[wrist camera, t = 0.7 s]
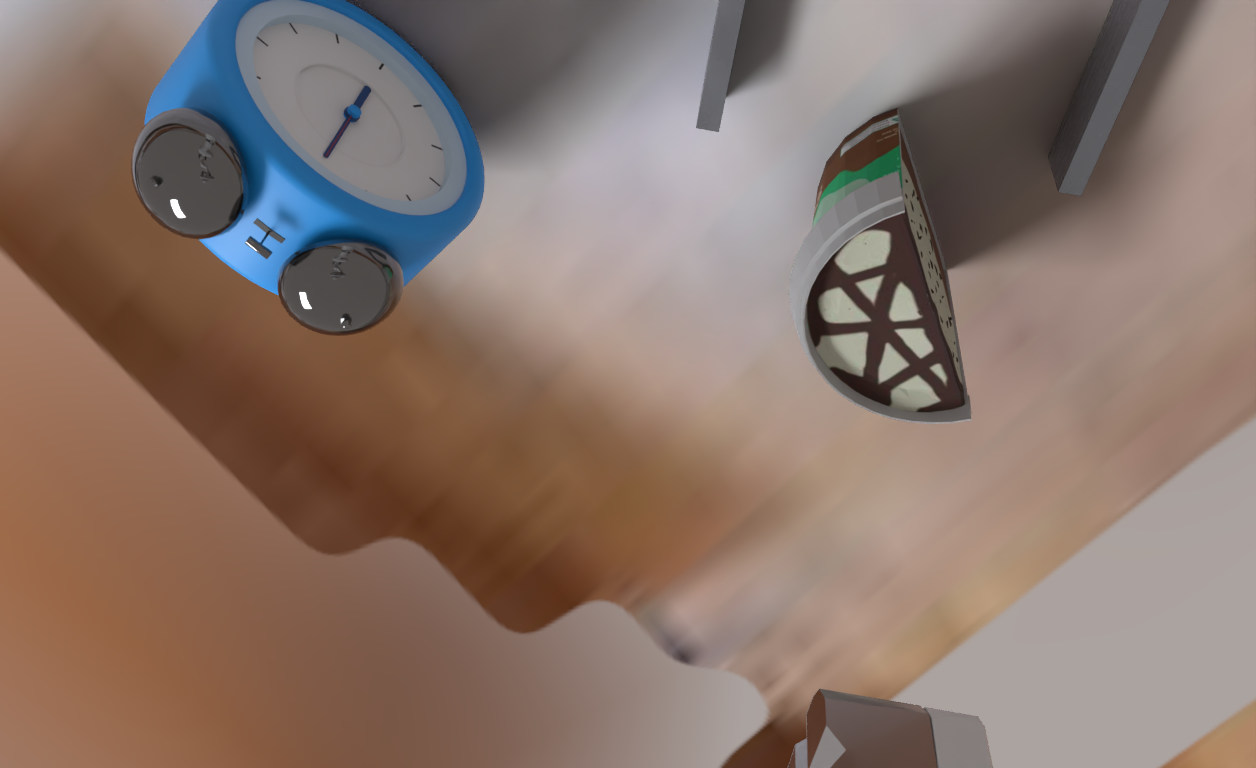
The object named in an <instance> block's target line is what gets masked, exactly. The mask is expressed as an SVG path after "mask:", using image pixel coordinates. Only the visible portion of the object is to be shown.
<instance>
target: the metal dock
mask: <svg viewBox="0 0 1256 768" xmlns="http://www.w3.org/2000/svg"><path fill="white" fill-rule="evenodd" d="M1169 1H1170V0H1114V2H1113V4H1112V7H1111V9H1110V12H1109V14H1108V16H1107V19H1106V21H1105V23H1104V26H1103V28H1102V30H1101V33H1100V35H1099V38H1098V40H1097V42H1096V45H1095V47H1094V49H1093V52H1092V54H1091V57H1090V59H1089V61H1088V64H1087V66H1086V68H1085V71H1084V73H1083V76H1082V78H1081V80H1080V83H1079V85H1078V87H1077V90H1076V92H1075V95H1074V97H1073V99H1072V102H1071V104H1070V106H1069V109H1068V111H1067V114H1066V116H1065V118H1064V121H1063V123H1062V125H1061V128H1060V130H1059V133H1058V135H1057V137H1056V140H1055V142H1054V144H1053V147H1052V149H1051V152H1050V154H1049V156H1048V159H1049V162H1050V165H1051V169H1052V172H1053V176H1054V179H1055V182H1056V186H1057V189H1058V192H1061V193H1067V194H1072V195H1078V196H1081V195H1082V193H1083V191H1084V188H1085V186H1086V184H1087V182H1088V180H1089V177H1090V175H1091V173H1092V171H1093V169H1094V166H1095V164H1096V162H1097V160H1098V158H1099V155H1100V153H1101V151H1102V149H1103V147H1104V144H1105V142H1106V140H1107V138H1108V136H1109V133H1110V131H1111V129H1112V127H1113V125H1114V122H1115V120H1116V118H1117V116H1118V114H1119V111H1120V109H1121V107H1122V105H1123V103H1124V100H1125V98H1126V96H1127V94H1128V92H1129V89H1130V87H1131V85H1132V83H1133V81H1134V78H1135V76H1136V74H1137V72H1138V70H1139V67H1140V65H1141V63H1142V61H1143V59H1144V56H1145V54H1146V52H1147V50H1148V48H1149V45H1150V43H1151V41H1152V39H1153V37H1154V34H1155V32H1156V30H1157V28H1158V26H1159V23H1160V21H1161V19H1162V17H1163V15H1164V12H1165V10H1166V8H1167V6H1168V4H1169ZM744 4H745V0H719V4H718V9H717V15H716V20H715V25H714V31H713V36H712V41H711V47H710V52H709V57H708V63H707V68H706V74H705V79H704V84H703V90H702V95H701V101H700V107H699V113H698V120H697V126H696V128H699V129H705V130H710V131H716V132H719V128H720V123H721V118H722V113H723V108H724V103H725V98H726V93H727V88H728V84H729V79H730V74H731V69H732V64H733V59H734V54H735V49H736V44H737V39H738V34H739V29H740V24H741V19H742V14H743V9H744Z"/></svg>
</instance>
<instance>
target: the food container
mask: <svg viewBox="0 0 1256 768" xmlns="http://www.w3.org/2000/svg"><path fill="white" fill-rule="evenodd" d="M789 300H790V309H791V314H792V317H793V320H794V324H795V327H796V330H797V333H798V336H799V339H800V342H801V345H802V347H803V349H804V351H805V353H806V355H807V357H808V359H809V360H810V362H811V363H812V365H813V366H814V367H815V368H816V370H817V371H818V372H819V374H820V375H821V376H822V377H823V378H824V380H825V381H826V382H827V383H828V384H829V385H830V386H831V387H832V388H833V389H834V390H836V391H837V392H838V393H839V394H840V395H841V396H843V397H845V398H846V399H848V400H849V401H851V402H852V403H854V404H855V405H857V406H859V407H861V408H864V409H866V410H868V411H870V412H872V413H875V414H878V415H881V416H884V417H887V418H891V419H895V420H901V421H906V422H911V423H925V424H941V423H956V422H962V421H969V420H971V406H970V397H969V395H967V388H966V382H965V376H964V370H963V364H962V358H961V352H960V346H959V340H958V334H957V328H956V321H955V315H954V309H953V303H952V297H951V291H950V285H949V279H948V273H947V268H946V265H945V262H944V258H943V255H942V252H941V249H940V245H939V242H938V239H937V235H936V232H935V229H934V226H933V222H932V219H931V216H930V213H929V209H928V206H927V203H926V199H925V196H924V193H923V190H922V186H921V183H920V180H919V176H918V173H917V170H916V167H915V163H914V160H913V157H912V154H911V150H910V147H909V144H908V140H907V137H906V134H905V131H904V127H903V124H902V121H901V117H900V114H899V111H898V108H896V109H893V110H891V111H888V112H886V113H883V114H881V115H878V116H876V117H873V118H872V119H870V120H869V121H867V122H866V123H865V124H863V125H862V126H860V127H859V128H858V129H856V130H855V131H854V132H852V133H851V134H849V135H848V136H847V137H845V139H844V140H843V141H842V142H841V144H840V145H839V146H838V148H837V149H836V150H835V152H834V153H833V154H832V156H831V157H830V158H829V159H828V161H827V162H826V165H825V168H824V171H823V174H822V177H821V180H820V183H819V186H818V191H817V198H816V205H815V213H814V220H813V227H812V230H811V231H810V233H809V234H808V235H807V237H806V238H805V240H804V242H803V244H802V246H801V248H800V250H799V252H798V254H797V256H796V258H795V262H794V265H793V269H792V272H791V276H790V287H789Z"/></svg>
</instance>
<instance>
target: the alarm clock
mask: <svg viewBox="0 0 1256 768" xmlns="http://www.w3.org/2000/svg"><path fill="white" fill-rule="evenodd" d="M131 175H132V181H133V185H134V188H135V191H136V193H137V196H138V198H139V200H140V202H141V203H142V205H143V206H144V208H145V209H146V211H147V212H148V213H149V214H150V216H151V217H152V218H153V219H154V220H155V221H156V222H157V223H158V224H160V225H161V226H163V227H164V228H166V229H167V230H169V231H171V232H172V233H174V234H177V235H180V236H182V237H186V238H191V239H199V240H200V241H201V242H202V243H203V244H204V245H205V246H206V247H207V248H208V249H209V250H210V251H211V252H213V253H214V254H215V255H216V256H217V257H218V258H219V259H221V260H222V261H223V262H224V263H226V264H227V265H228V266H230V267H231V268H232V269H234V270H235V271H237V272H238V273H240V274H241V275H243V276H244V277H246V278H247V279H249V280H250V281H252V282H254V283H256V284H257V285H259V286H261V287H263V288H265V289H267V290H269V291H271V292H273V293H275V294H277V295H279V297H280V300H281V304H282V305H283V306H284V308H285V309H286V311H287V312H288V314H289V315H290V316H291V317H292V318H293V319H294V320H295V321H297V322H298V323H299V324H300V325H302V326H304V327H305V328H307V329H309V330H312V331H315V332H318V333H321V334H325V335H331V336H347V335H354V334H358V333H362V332H365V331H367V330H370V329H372V328H374V327H375V326H377V325H379V324H380V323H381V322H383V321H384V320H385V319H387V318H388V317H389V316H390V314H391V313H392V312H393V311H394V309H395V308H396V307H397V305H398V303H399V301H400V299H401V296H402V292H403V287H404V286H405V285H406V284H407V283H408V282H409V281H410V280H411V279H413V278H414V277H415V276H416V275H417V274H418V273H419V272H420V271H421V270H422V269H423V268H424V267H425V266H426V265H427V264H428V263H429V262H430V261H431V260H432V259H434V258H435V257H436V256H437V255H438V254H439V253H440V252H441V251H442V250H443V249H444V248H445V247H446V246H447V245H448V244H449V243H450V242H451V241H452V240H453V239H455V238H456V237H457V236H458V235H459V234H460V233H461V232H462V231H463V230H464V229H465V228H466V227H467V226H468V225H469V224H470V223H471V221H472V220H473V219H474V217H475V215H476V214H477V212H478V210H479V208H480V205H481V202H482V198H483V192H484V166H483V160H482V155H481V152H480V148H479V145H478V142H477V139H476V137H475V134H474V132H473V130H472V127H471V125H470V123H469V121H468V119H467V117H466V115H465V114H464V112H463V110H462V108H461V107H460V105H459V103H458V102H457V100H456V99H455V97H454V95H453V94H452V93H451V91H450V90H449V88H448V87H447V86H446V84H445V83H444V82H443V80H442V79H441V78H440V77H439V76H438V74H437V73H436V72H435V71H434V70H433V68H432V67H431V66H430V65H429V64H428V63H427V62H426V61H425V60H424V59H423V58H422V57H421V56H420V55H419V54H418V53H417V52H416V51H415V50H414V49H413V48H412V47H411V46H410V45H409V44H408V43H407V42H406V41H404V40H403V39H402V38H401V37H400V36H399V35H397V34H396V33H395V32H394V31H392V30H391V29H390V28H388V27H387V26H386V25H384V24H383V23H382V22H380V21H379V20H377V19H376V18H374V17H373V16H371V15H370V14H368V13H367V12H365V11H364V10H362V9H360V8H358V7H357V6H355V5H353V4H351V3H349V2H347V1H345V0H219V1H218V2H217V3H216V4H215V6H214V7H213V8H212V10H211V11H210V12H209V14H208V15H207V17H206V18H205V19H204V21H203V22H202V24H201V25H200V26H199V28H198V29H197V31H196V32H195V33H194V35H193V36H192V37H191V39H190V40H189V42H188V43H187V44H186V46H185V47H184V49H183V50H182V51H181V53H180V54H179V56H178V57H177V58H176V60H175V61H174V63H173V64H172V65H171V67H170V68H169V70H168V71H167V72H166V74H165V75H164V77H163V78H162V79H161V81H160V82H159V84H158V85H157V86H156V88H155V90H154V92H153V94H152V95H151V98H150V101H149V104H148V107H147V110H146V116H145V126H144V127H143V128H142V130H141V132H140V134H139V135H138V137H137V139H136V141H135V143H134V147H133V150H132V157H131Z"/></svg>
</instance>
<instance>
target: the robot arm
mask: <svg viewBox="0 0 1256 768" xmlns="http://www.w3.org/2000/svg"><path fill="white" fill-rule="evenodd" d="M806 719H807V739H805V740H803V741H801V742H800V743H798V744H796V745H795V747H794V750H793V753H792V756H791V759H790V763H789V766H788V768H993V766H992V761H991V756H990V751H989V746H988V741H987V736H986V730H985V726H984V725H983V724H982V722H981V721H980V719H979V717H978V716H972V715H966V714H961V713H955V712H949V711H943V710H938V709H933V708H927V707H925V708H922V707H921V706H919V705H913V704H907V703H901V702H894V701H889V700H883V699H877V698H871V697H865V696H859V695H854V694H848V693H842V692H836V691H830V690H824V689H819V690H818V691H817V692H816V694H815V695H814V696H813V698H812V701H811V704H810V706H809V709H808V711H807V714H806Z"/></svg>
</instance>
